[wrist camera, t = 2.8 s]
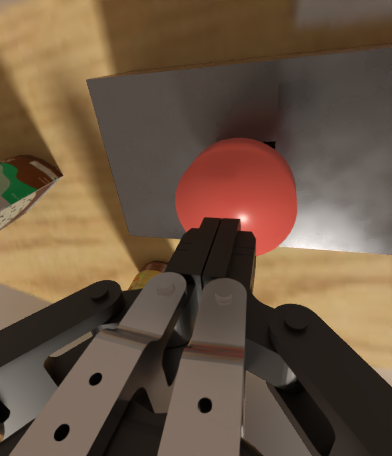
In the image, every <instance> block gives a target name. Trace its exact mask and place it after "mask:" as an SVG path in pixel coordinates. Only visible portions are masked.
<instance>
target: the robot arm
mask: <svg viewBox="0 0 392 456" xmlns="http://www.w3.org/2000/svg"><path fill="white" fill-rule="evenodd" d="M255 268H256V238H255V236H254V234H253V233H252V231H241V220H240V219H234V218H212V217H204V218H203V221H202V223H201V225H200V227H199V228H191V229H190V230H188V231H187V232H186V233H185V234H183V236H182V238H181V240H180V242H179V244H178V246H177V248H176V251H175V252H174V254H173V256H172V258H171V259H170V261H169V263H168V265H167V267H166V269H165V271H164V273H161V274H158V275H156V276H154V277H152V278H151V279H150V280H149V281H148V282H147V283H146V285H145V286H144V288H141V289H135V290H127V291H122V290H121V287H120V285H119V284H118V283H117V282H115V281H111V280H103V281H99V282H96V283H94V284H91V285H89V286H88V287H86V288H84V289H82V290H80V291H78V292H76V293H74V294H72V295H70V296H68V297H66V298H64V299H62V300H60V301H58V302H56V303H54V304H52V305H50V306H48V307H46V308H44V309H42V310H40V311H38V312H36V313H34V314H32V315H30V316H28V317H26V318H24V319H22V320H20V321H18V322H16V323H14V324H12V325H10V326H8V327H6V328H4V329H2V330H0V456H263V455H262V454H261V453H260V452H259V451H258V450H257V449H256V448H255V447H254V446H253V445H251V444H250V443H249V442H248V441H246V440H245V439H244V421H245V419H244V418H245V384H246V370H247V371H249V372H251V373H252V374H254V375H256V376H258V377H260V378H261V379H263V380H265V381H266V384H267V386H268V388H269V390H270V392H271V393H272V394H273V396H274V398H275V399H276V401H277V402H278V404H279V405H280V407H281V409H282V410H283V412H284V413H285V415H286V416H287V418H288V419H289V421H290V422H291V424H292V426H293V427H294V429H295V430H296V432H297V433H298V435H299V436H300V438H301V439H302V441H303V443H304V444H305V446H306V447H307V449H308V450H309V452H310V453H311V455H312V456H392V387H391V386H390V385H389V384H388V383H387V382H386V381H385V380H384V379H383V378H382V377H381V376H380V375H379V374H378V373H377V372H376V371H375V370H374V369H373V368H372V367H371V366H370V365H369V364H367V363H366V362H365V361H364V360H363V359H362V358H361V357H360V356H359V355H358V354H357V353H356V352H355V351H354V350H353V349H352V348H351V347H350V346H349V345H348V344H347V343H346V342H345V341H344V340H343V339H342V338H340V337H339V336H338V335H337V334H336V333H335V332H334V331H333V330H332V329H331V328H330V327H329V326H328V325H327V324H326V323H325V322H324V321H323V320H322V319H321V318H320V317H319V316H318V315H317V314H315V313H314V312H313V311H312V310H310V309H309V308H306V307H304V306H301V305H297V304H284V305H281V306H278V307H276V308H275V309H274V308H272V307H269V306H267V305H265V304H263V303H261V302H260V301H258V300H257V299H256V298H255V297H254V296H253V294H252V293H253V285H254V277H255ZM89 331H91V333H92V335H93V336H92V337H91V338H89V339H87V340H86V341H84V342H82V343H81V344H79V345H77V346H76V347H74V348H72V349H71V350H69V351H67V352H66V353H64V354H62V355H60V356H58V357H50V356H49V355H51V354H52V353H54V352H55V351H57V350H59V349H61V348H62V347H64V346H66V345H67V344H69V343H71V342H72V341H74V340H76V339H78V338H79V337H81V336H83V335H85V334H86V333H88V332H89Z"/></svg>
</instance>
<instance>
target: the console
mask: <svg viewBox="0 0 392 456" xmlns="http://www.w3.org/2000/svg"><path fill="white" fill-rule="evenodd" d="M86 81H87V85H88V89H89V92H90V96H91V99H92V103H93V106H94V110H95V114H96V117H97V121H98V124H99V128H100V131H101V135H102V139H103V142H104V146H105V149H106V153H107V156H108V160H109V164H110V167H111V171H112V174H113V178H114V181H115V185H116V189H117V192H118V196H119V199H120V203H121V206H122V210H123V213H124V217H125V221H126V224H127V228H128V231H129V235H132V236H145V237H159V238H172V239H181V238H182V236H183V234H185V233H186V231H185V229H184V228H183V226H182V224H181V223H180V221H179V218H178V215H177V211H176V205H175V196H176V190H177V187H178V184H179V181H180V179H181V178H182V176H183V174H184V173H185V172H186V170H187V169H188V168H189V166H190V165H191V164H192V163H193V161H194V160H195V159H196V157H197V156H198V155H199V154H200V153H201V152H202V151H203V150H204V149H206V148H207V147H208V146H210V145H212V144H214V143H216V142H219V141H221V140H225V139H230V138H248V139H253V140H257V141H260V142H271V141H276V143H275V150H276V151H277V152H278V153H280V154H281V155H282V156H283V158H284V159H285V160H286V161H287V163H288V164H289V166H290V168H291V170H292V172H293V175H294V178H295V184H296V195H297V216H296V221H295V224H294V226H293V229H292V230H291V232H290V234H289V235H288V236H287V238H286V239H285V240H284V241H283V242H282V243H281V244H280V245H278V246H279V247H293V248H306V249H320V250H333V251H346V252H360V253H373V254H387V255H392V43H390V44H381V45H371V46H362V47H353V48H344V49H334V50H325V51H316V52H306V53H297V54H288V55H279V56H269V57H260V58H251V59H242V60H232V61H223V62H214V63H205V64H195V65H186V66H177V67H167V68H158V69H149V70H140V71H130V72H124V73H119V74H114V75H108V76H103V77H98V78H92V79H87V80H86Z"/></svg>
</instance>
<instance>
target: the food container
mask: <svg viewBox="0 0 392 456" xmlns="http://www.w3.org/2000/svg"><path fill="white" fill-rule="evenodd" d="M62 176H63V175H62V174H61V173H60V172H59V171H58V170H57V169H56V168H55V167H53V166H51V165H50V164H48V163H47V162H45V161H44V160H42V159H39V158H36V157H33V156H30V155H19V156H16V157H12V158H9V159H6V160H3V161H0V230H2V229H3V228H5V227H6V226H8V225H9V224H10V223H12V222H13V221H15V220H16V219H18V218H19V217H21V216H22V215H24V214H25V213H27V212H28V211H29V210H30V209H31V208H32V207H33V206H34V205H35V204H36V203H37V202H38V201H39V200H40V199H41V198H42V197H43V196H44V195H45V194H46V193H47V192H48V191H49V190H50V189H51V188H52V186H53V185H54V184H55V183H56V182H57V181H58V180H59V179H60V178H61V177H62Z"/></svg>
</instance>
